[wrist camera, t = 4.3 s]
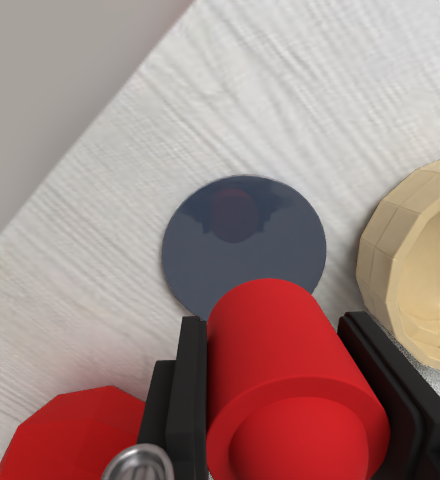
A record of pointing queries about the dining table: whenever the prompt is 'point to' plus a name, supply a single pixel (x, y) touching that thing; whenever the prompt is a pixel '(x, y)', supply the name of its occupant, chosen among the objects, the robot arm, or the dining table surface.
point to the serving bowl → (406, 264)
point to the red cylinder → (286, 392)
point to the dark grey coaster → (240, 240)
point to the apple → (74, 436)
